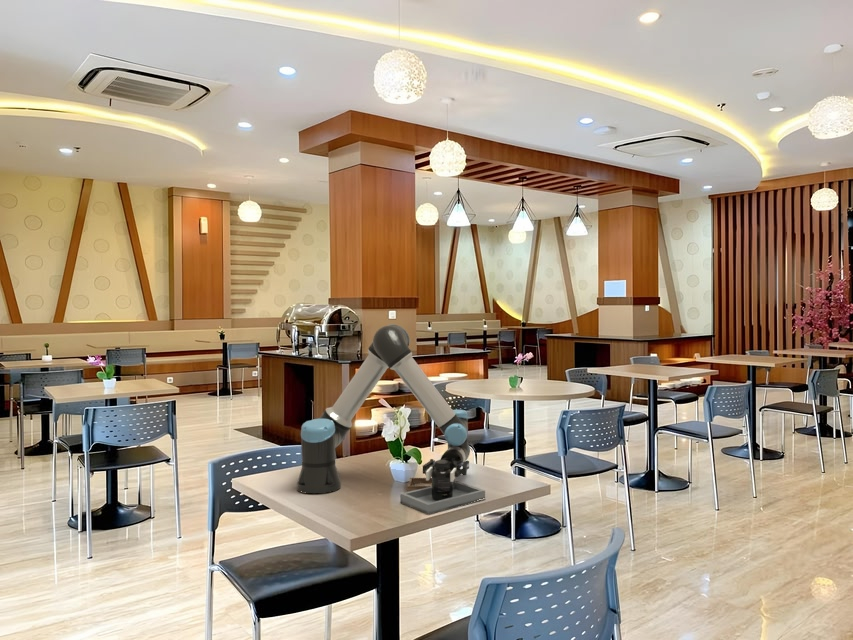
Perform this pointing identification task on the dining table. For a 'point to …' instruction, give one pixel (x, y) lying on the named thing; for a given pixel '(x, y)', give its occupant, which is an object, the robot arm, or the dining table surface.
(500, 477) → the dining table surface
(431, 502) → the parts tray
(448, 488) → the supplement bottle
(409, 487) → the square wooden tray
